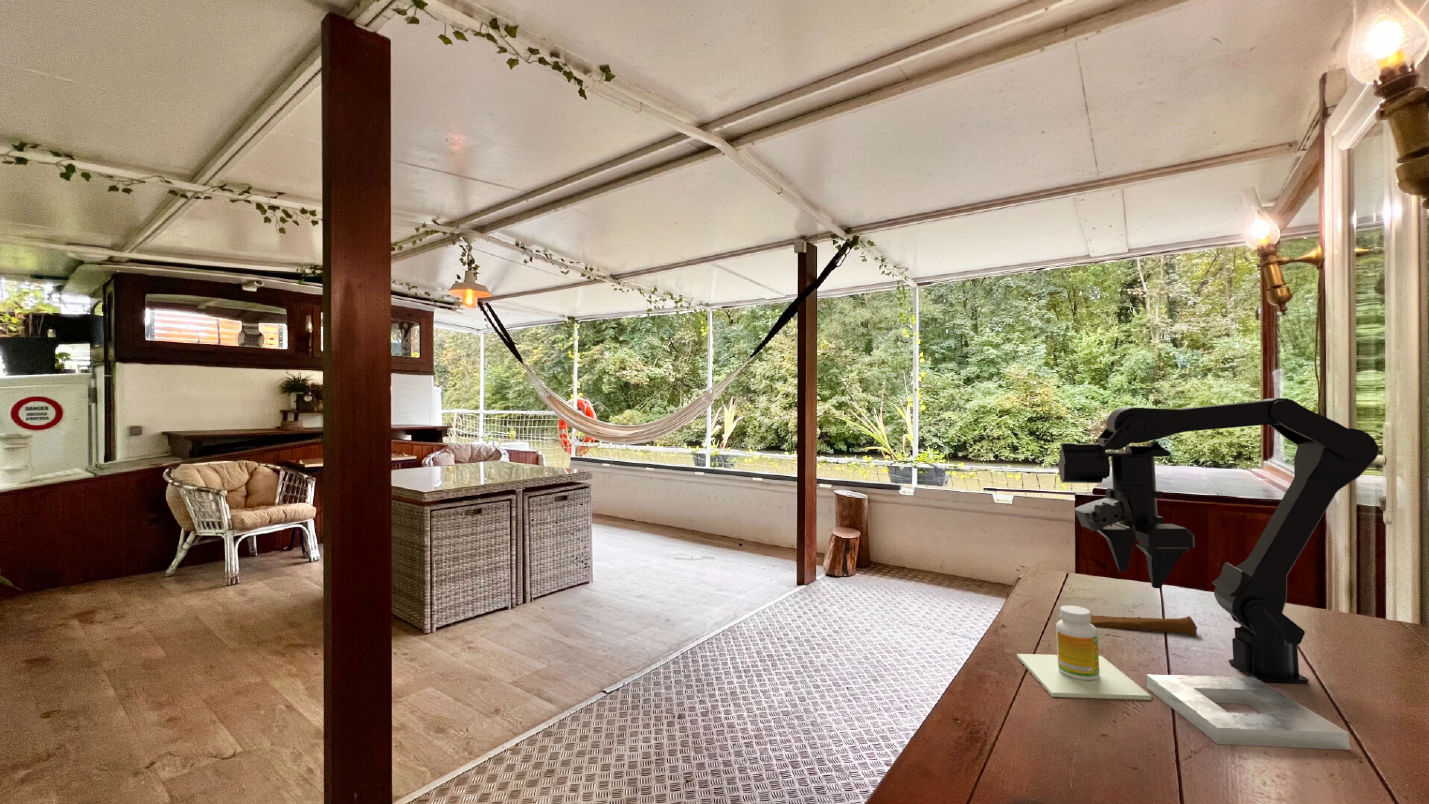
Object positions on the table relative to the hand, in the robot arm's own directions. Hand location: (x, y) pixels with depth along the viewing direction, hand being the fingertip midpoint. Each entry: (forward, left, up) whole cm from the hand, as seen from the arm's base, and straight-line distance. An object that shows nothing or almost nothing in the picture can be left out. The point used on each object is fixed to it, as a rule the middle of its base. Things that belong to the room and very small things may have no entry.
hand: (1138, 579), depth 92 cm
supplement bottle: (+13, +7, -13) cm, 19 cm away
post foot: (-2, +17, -13) cm, 22 cm away
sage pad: (+13, +7, -13) cm, 20 cm away
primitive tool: (-5, -14, -14) cm, 20 cm away
